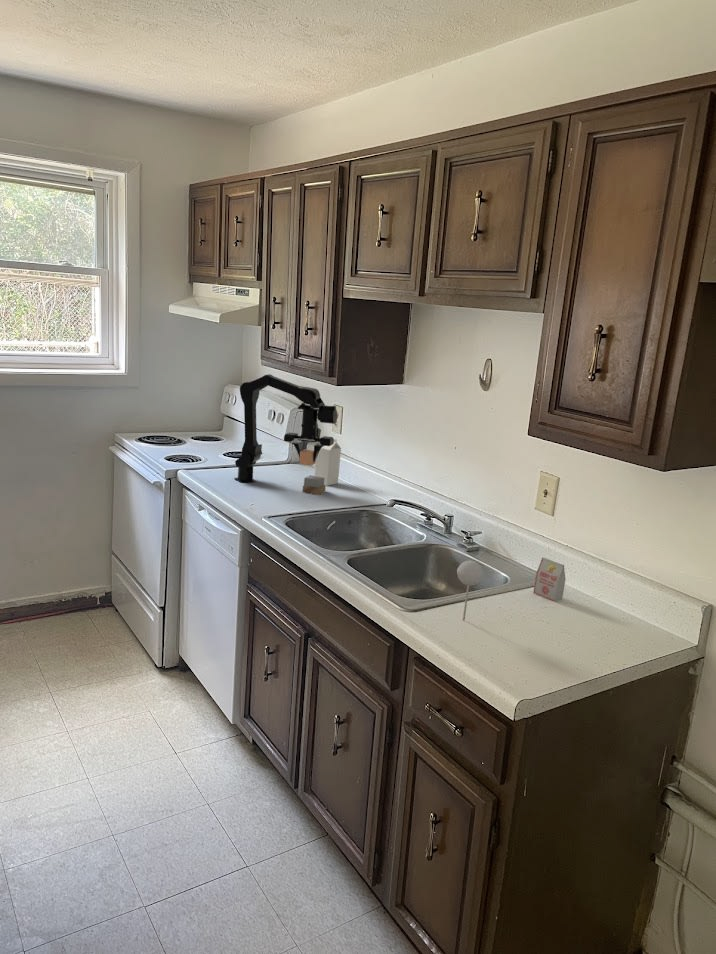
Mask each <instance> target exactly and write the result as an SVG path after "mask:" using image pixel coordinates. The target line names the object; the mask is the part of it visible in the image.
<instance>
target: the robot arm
mask: <svg viewBox="0 0 716 954" xmlns="http://www.w3.org/2000/svg"><path fill="white" fill-rule="evenodd" d="M268 386H269V387H271V388H273V389H276V390H278V391H281V392H284V393H286V394H288V395H291V396H293V397H296V399H297V400H299V401H301V404H300V405H299V406H297V409H298V410H302V419H301V421H302V422H301V425H300V427H301V434H300V435H299V434H298V433H297V432H287V433H285V434H284V436H283V442H287V443H291V445H293V446H294V447H295V449H296V452H297V455H298V458H299V459H300V451H302V450H303V444H304V442H310V443H315V445H314V446H313V450H314V455H313V462H315V461H316V458H317V456H318V453H319V451H320V449H321V448H322V447H323V446H331V445H333V444H334V439H335V438H334V437H333V436H326V435H323V436H322V437H321V432H322V429H320V427H319V425H318V424H319V423H318V421H319V422H320V423H322V424H329V425H330V424H332V425H336V424H337V421H338V411H337V405H326V404H325V403H324V401H323V399H322V397H321V393H320V391H319V389H317V388H315V387H309V386H302V385H298V384H296V383H295V384H294V383H292V382H290V381H287V380H284V379H282V378H279V377H278V376H277V377H276V376H274V375H273V374H271V373H269V374H264V375H262V376H261V377H259V378H256V379H255V380H252V381H246V382H243V383H242V384H241V385H239V394H240V399H241V400H242V403H243V410H244V411H243V412H244V415H243V416H244V420H243V421H244V442H243V445H242V448H241V454H240V457H239V458H237V459H236V460H235V462H234V464H235V467H237V477H234V480H235V481H237V480H238V482H240V483H242V482H243V483H252V482H253V481H255V482H256V479H254V465H256V463H257V461H259V460H260V459H261V457H262V455H263V452H262V451H263V450H262V449H263V444H262V443H261V444H259V442H258V439H257V437H258V436H257V403H258V401H259V397H260V391H261V390H264V389H265V388H267V387H268ZM253 483H254V482H253Z"/></svg>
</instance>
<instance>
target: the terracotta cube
mask: <svg viewBox="0 0 716 954" xmlns="http://www.w3.org/2000/svg"><path fill="white" fill-rule="evenodd" d="M313 455H314V449H313V450H312V449H306V448H305V449H302V451H300V458H299V465H305V466H313V465H315V464H316V461H315V462H313Z"/></svg>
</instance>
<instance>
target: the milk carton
mask: <svg viewBox="0 0 716 954" xmlns="http://www.w3.org/2000/svg"><path fill="white" fill-rule="evenodd" d="M333 439H334V444H333V445H331V446H323V447H322V448H321V449H320V451H319V453H318V456H317V458H316V463H315V464H314V476H319V477H325V478H324V485H326V487H328V486H332V485H333V486H334V485H337V484H338V483H339V476H340V462H341V453H342V452H341V451H342V448H341V446H340V445H339V444H338V443H337V439H335V438H333Z"/></svg>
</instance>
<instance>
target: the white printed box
mask: <svg viewBox="0 0 716 954" xmlns="http://www.w3.org/2000/svg"><path fill="white" fill-rule="evenodd" d="M565 585H566V572H565V564H561V563H559V562H557V561H554V560H551V559H549V558H546V557H544V556H542V557H541V560H540V563H539V566H538V568H537V571H536V574H535V580H534V586H533V594H535V595H536V596H540V597H542V598H544V599H546V600H549V601H551V602H553V603H555V602H559V601H562V600H563V597H564V592H565Z"/></svg>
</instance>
